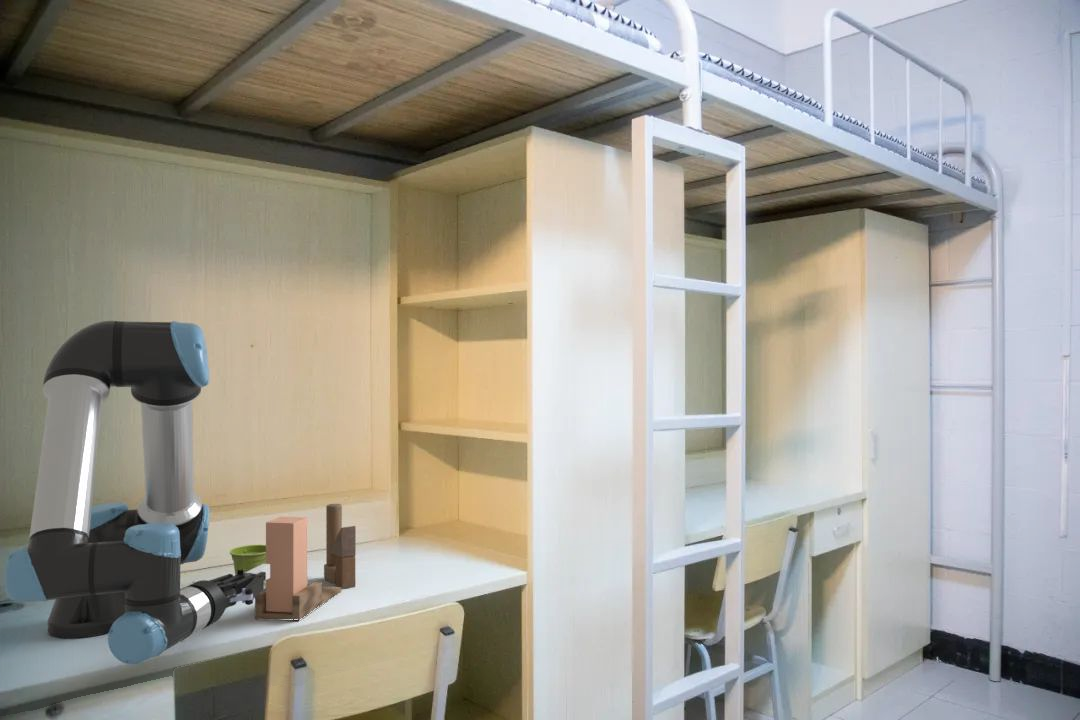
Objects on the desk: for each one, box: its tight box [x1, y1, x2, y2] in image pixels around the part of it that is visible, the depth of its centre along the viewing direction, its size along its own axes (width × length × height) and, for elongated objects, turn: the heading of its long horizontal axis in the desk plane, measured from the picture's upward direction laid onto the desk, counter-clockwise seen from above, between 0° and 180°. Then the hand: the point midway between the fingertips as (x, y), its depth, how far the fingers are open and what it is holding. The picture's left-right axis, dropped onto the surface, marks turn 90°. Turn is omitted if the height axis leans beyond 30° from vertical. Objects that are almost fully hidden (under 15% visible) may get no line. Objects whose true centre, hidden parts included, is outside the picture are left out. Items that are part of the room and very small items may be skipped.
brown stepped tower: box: [323, 503, 357, 590], centre depth 177 cm, size 4×11×18 cm, turn 37°
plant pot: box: [229, 544, 266, 586], centre depth 174 cm, size 9×9×9 cm
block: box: [265, 516, 308, 613], centre depth 155 cm, size 6×6×18 cm
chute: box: [254, 581, 342, 621], centre depth 160 cm, size 20×10×5 cm, turn 171°
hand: (266, 570), depth 146 cm, fingers closed
